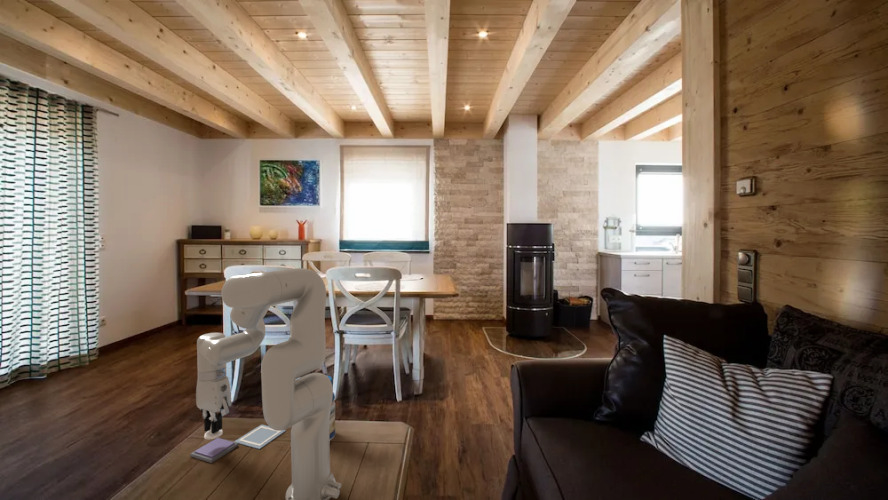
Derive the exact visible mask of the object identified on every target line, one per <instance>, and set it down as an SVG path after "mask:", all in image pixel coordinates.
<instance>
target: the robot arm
mask: <svg viewBox="0 0 888 500" xmlns="http://www.w3.org/2000/svg"><path fill="white" fill-rule="evenodd" d="M220 295H221V300H222V302H223V303H224V305H226V306H227V307H228V308H230V309H231V310H230V318H231V321H232V322H233V323H234V324H235V325H236V326H238V327H240V328H242V329H245V330H243V332H240V333H235V334H231V335H228V336H226V335H225V334H224V333H223V332H209V333H204V334H202V335H200V336H199V337H198V338H197V339H196V351H197V352H196V353H197V355H196V356H197V358H196V361H197V362H196V364H197V380H196V389H195V392H196V393H195V400H196V401H195V404H196V407H197V408H198V409H199V410H200V412H201V413H202V418H203V420H204V421H203V423H204V425H203V426H204V432H205V433H206V432H208V431H209V430H210V428H211V432H212V434H214V433H216V432H218V431H219V430H221V429H222V430H223V418H224V416H226V415H228V414H230V410H229V408H230V407H231V406H232V389H231V384H230V380H229V377H228V376H227V364H228V363H230V362H233V361H236V360H239V359H242V358H245V357H248V356H250V355H252V354H254V353H255V352H256V351H257V350H258V349H259V347H260V345H261V344H262V343H263V341H264V339H265V336H266V324H265V322H264V318H265V316H266V314H267V312H268V311H269V309H270V308H271V307H272V306H276V305H281V304H285V303H290V302H294V301H296V302H297V303H296V305H295V307H294V308H293V311H292V313H291V316H290V318H289V330H290V331H289V338H288V339H287V340H285V341H282V342H280V343H277V344H275V345H273V346H271V347H270V348H268V350H267V351H266V352H265V353H264V355H263V358H262V361H261V367H260V368H261V369H260V370H261V371H260V374H261V375H260V376H261V377H260V378H261V401H262V412H263V413H262V414H263V418H264V421H265V422H266V424H267V426H269V427H270V428H272V429H273V430H277V431H281V430H287V429H289V428H291V429H290V453H291V457H290V458H291V459H290V460H291V462H290V463H291V484H290V485H289V486H288V488H287V490H286V492H285V500H330V499H331V498H333V499H338V498H339V496H340V494H341V493H340V492H341V491H340V489H341V487H342V483H340V482H337V481H336V478H335V476H334V473H332V472H331V454H330V453H331V451H330V447H331V446H330V441H331V440H330V438H329V419H330V408H331V403H332V397H333V393H334V389H333V388H334V387H333V386H332V383H331V381H330V379H329V378H328V377H327V376H328V375H326V374H324V373H322V372H314V371H316V370H318V369H319V368H321V366H323V365H324V363H325V361H326V355H327V354H326V352H327V350H326V349H327V348H326V347H327V346H326V345H327V344H326V341H327V340H326V322H325V321H326V320H325V319H326V318H325V317H326V316H325V315H326V305H327V289H326V284H325V281H324V280H323V278H322V277H321V275H319V273H317V272H316V271H315V270H312V269H309V268H303V267H302V268H301V267H300V268H299V267H297V268H296V267H295V268H288V269H281V270H279V269H278V270H272V271H263V272H254V273H245V274H238V275H232V276H230V277H229V278H228V279H227V280H226V281H225V282H224V283H223V285H222V287H221V294H220ZM311 372H312V373H311ZM209 411H212V415H213V421H211V420H209V418H210V417H211V415H210V413H209Z"/></svg>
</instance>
